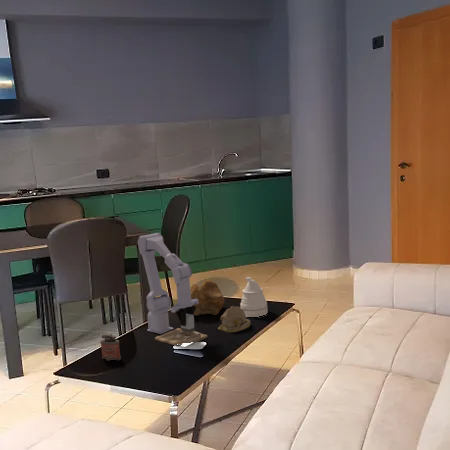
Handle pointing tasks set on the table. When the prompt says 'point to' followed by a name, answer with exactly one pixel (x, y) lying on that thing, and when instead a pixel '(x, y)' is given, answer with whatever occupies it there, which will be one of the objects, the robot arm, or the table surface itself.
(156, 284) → the robot arm
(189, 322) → the peg
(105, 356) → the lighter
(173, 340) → the birch board
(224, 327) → the ceramic model
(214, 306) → the rough brown rock
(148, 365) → the table surface
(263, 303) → the honey pot
